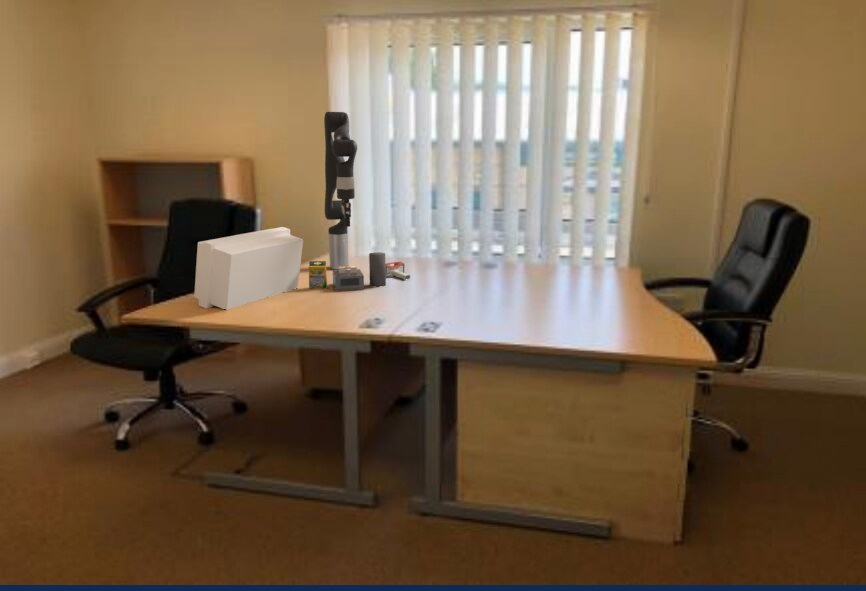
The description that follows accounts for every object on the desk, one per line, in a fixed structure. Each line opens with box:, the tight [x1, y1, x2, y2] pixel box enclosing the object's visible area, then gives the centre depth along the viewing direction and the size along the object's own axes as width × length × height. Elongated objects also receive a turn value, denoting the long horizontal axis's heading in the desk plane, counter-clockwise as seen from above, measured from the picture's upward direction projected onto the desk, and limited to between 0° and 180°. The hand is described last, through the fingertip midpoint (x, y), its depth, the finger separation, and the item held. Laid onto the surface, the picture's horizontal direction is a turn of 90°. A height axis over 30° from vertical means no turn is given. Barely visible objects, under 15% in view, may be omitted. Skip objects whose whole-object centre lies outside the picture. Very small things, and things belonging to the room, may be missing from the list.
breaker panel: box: [332, 268, 365, 291], centre depth 298 cm, size 14×12×6 cm
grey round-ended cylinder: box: [368, 251, 387, 288], centre depth 300 cm, size 7×7×14 cm
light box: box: [193, 226, 304, 311], centre depth 278 cm, size 45×17×26 cm, turn 151°
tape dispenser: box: [385, 261, 411, 281], centre depth 321 cm, size 18×5×20 cm
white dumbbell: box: [338, 265, 358, 273], centre depth 297 cm, size 1×8×3 cm, turn 103°
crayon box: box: [308, 260, 328, 289], centre depth 295 cm, size 7×3×12 cm, turn 93°
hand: (346, 225), depth 298 cm, fingers open, 8 cm apart
